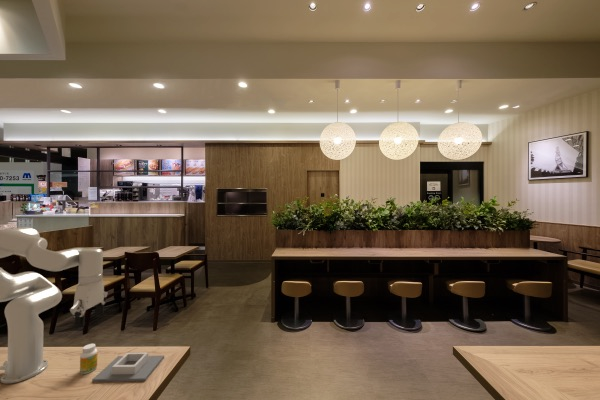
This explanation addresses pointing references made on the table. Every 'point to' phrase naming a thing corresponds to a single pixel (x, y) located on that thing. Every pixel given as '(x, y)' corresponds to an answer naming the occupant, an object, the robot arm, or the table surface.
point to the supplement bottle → (88, 359)
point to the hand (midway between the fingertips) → (90, 320)
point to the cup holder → (129, 368)
